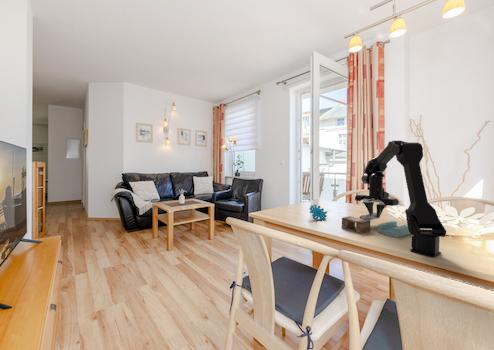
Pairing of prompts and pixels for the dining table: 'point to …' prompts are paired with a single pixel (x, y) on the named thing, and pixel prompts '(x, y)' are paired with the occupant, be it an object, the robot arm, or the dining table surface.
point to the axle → (369, 216)
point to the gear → (318, 212)
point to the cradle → (393, 229)
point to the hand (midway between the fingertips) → (375, 217)
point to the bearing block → (360, 224)
